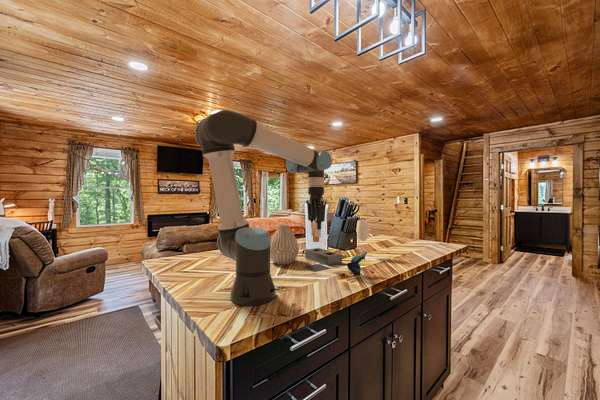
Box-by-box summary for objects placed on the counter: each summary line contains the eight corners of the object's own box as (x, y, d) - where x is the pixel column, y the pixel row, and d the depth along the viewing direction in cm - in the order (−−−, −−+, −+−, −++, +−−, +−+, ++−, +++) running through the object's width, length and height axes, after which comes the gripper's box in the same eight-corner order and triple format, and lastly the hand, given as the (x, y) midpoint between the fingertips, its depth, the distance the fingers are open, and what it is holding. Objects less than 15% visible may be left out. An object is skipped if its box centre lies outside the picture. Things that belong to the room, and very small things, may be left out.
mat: (331, 269, 122) (331, 268, 122) (314, 272, 117) (314, 271, 117) (318, 264, 131) (318, 263, 131) (302, 267, 125) (302, 266, 125)
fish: (370, 274, 114) (369, 252, 113) (350, 277, 110) (350, 254, 110) (364, 272, 118) (364, 250, 117) (344, 274, 114) (344, 252, 114)
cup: (354, 256, 149) (354, 220, 149) (364, 255, 151) (364, 219, 151) (361, 258, 142) (361, 221, 142) (372, 257, 145) (372, 220, 144)
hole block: (342, 264, 131) (342, 254, 131) (328, 266, 127) (328, 256, 126) (318, 256, 148) (318, 247, 148) (305, 258, 143) (305, 249, 143)
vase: (280, 269, 123) (280, 227, 123) (262, 262, 135) (261, 224, 135) (305, 263, 134) (304, 224, 134) (285, 257, 146) (285, 222, 146)
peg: (320, 241, 123) (320, 220, 123) (315, 242, 122) (315, 220, 121) (316, 240, 126) (316, 220, 126) (311, 241, 124) (311, 220, 124)
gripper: (332, 186, 119) (332, 237, 119) (313, 187, 132) (312, 233, 132) (319, 185, 115) (319, 238, 115) (300, 187, 128) (300, 234, 128)
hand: (316, 235), depth 124 cm, fingers closed on peg, 2 cm apart
